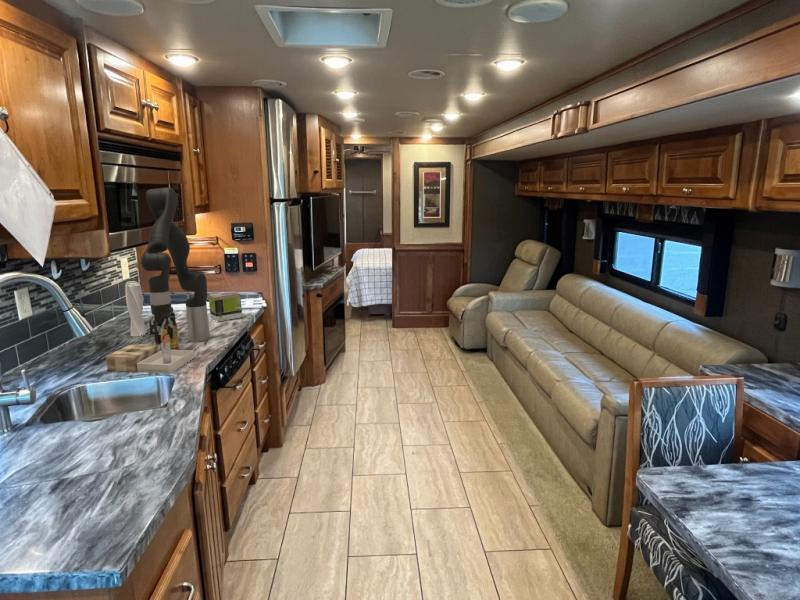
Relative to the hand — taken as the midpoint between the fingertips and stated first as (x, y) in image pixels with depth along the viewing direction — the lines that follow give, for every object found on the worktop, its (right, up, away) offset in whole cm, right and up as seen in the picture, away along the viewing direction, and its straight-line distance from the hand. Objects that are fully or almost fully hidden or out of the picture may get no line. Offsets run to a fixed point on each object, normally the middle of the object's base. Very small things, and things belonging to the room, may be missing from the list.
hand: (164, 340), depth 196 cm
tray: (0, -10, +2) cm, 11 cm away
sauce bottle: (-7, -6, +21) cm, 23 cm away
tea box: (-2, +6, +75) cm, 75 cm away
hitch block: (-14, -10, +3) cm, 18 cm away
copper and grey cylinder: (0, -9, +2) cm, 10 cm away
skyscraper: (-35, -1, +43) cm, 56 cm away
